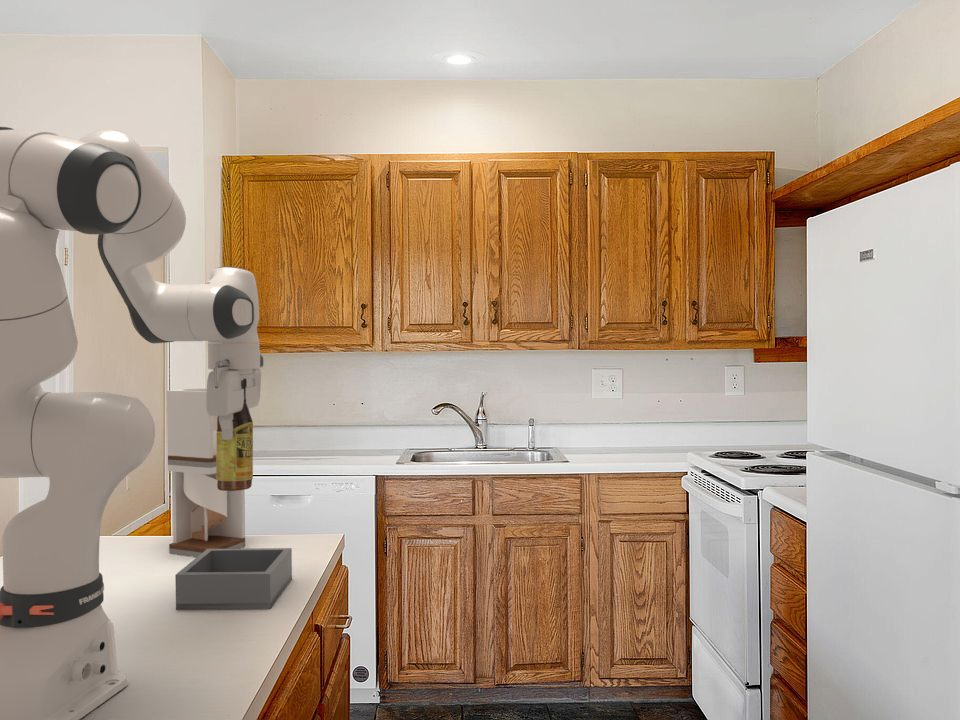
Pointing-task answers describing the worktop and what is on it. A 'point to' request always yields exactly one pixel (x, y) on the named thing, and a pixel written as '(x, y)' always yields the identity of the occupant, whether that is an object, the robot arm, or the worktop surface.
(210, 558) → the box
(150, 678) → the worktop surface
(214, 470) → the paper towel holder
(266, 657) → the worktop surface
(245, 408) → the sauce bottle
